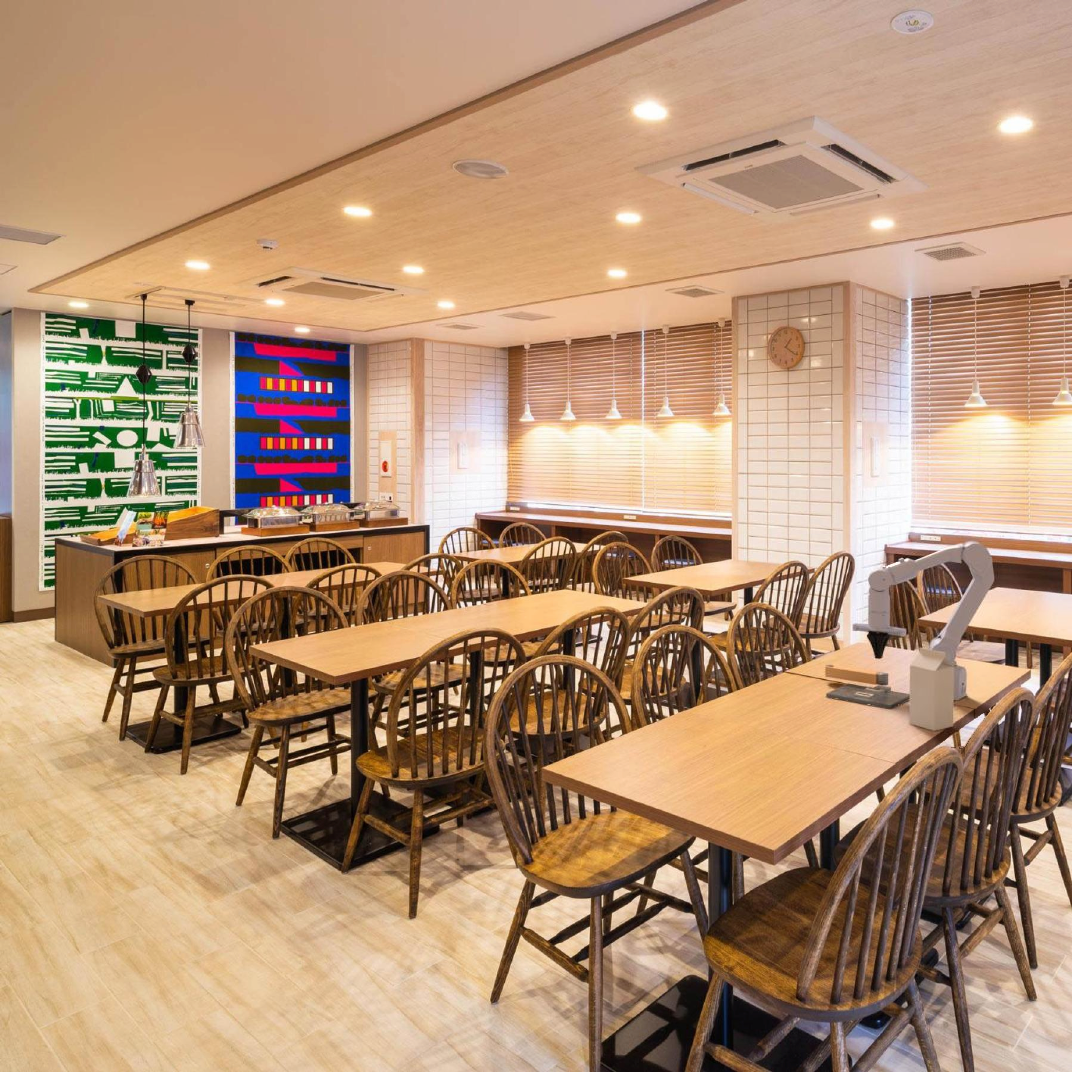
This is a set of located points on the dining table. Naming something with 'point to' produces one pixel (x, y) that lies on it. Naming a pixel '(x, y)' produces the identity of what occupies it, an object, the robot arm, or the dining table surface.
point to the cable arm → (856, 674)
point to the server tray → (869, 695)
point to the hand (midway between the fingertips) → (878, 658)
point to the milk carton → (931, 690)
